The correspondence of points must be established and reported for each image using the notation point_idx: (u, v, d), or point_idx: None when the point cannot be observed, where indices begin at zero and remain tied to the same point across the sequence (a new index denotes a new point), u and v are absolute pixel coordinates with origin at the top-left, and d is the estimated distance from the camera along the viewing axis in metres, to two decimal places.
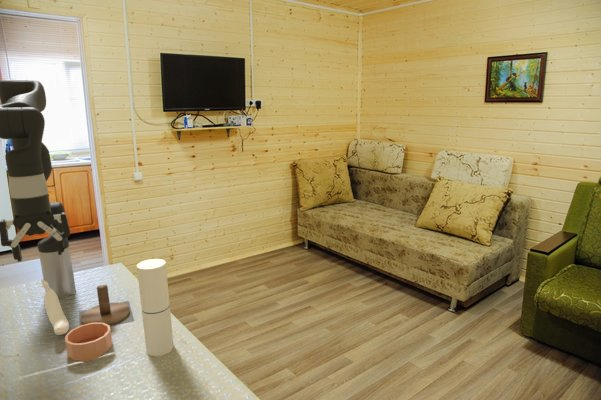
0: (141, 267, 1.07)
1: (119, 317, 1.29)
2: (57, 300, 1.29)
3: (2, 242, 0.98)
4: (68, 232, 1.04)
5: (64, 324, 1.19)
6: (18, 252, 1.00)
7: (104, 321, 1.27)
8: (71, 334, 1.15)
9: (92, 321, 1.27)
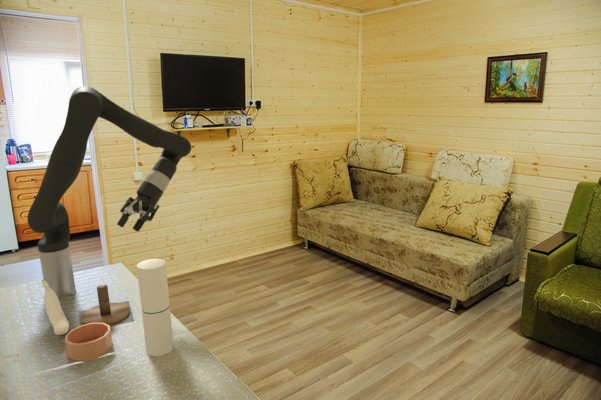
0: (141, 267, 1.07)
1: (119, 317, 1.29)
2: (57, 300, 1.29)
3: None
4: None
5: (64, 324, 1.19)
6: None
7: (104, 321, 1.27)
8: (71, 334, 1.15)
9: (92, 321, 1.27)
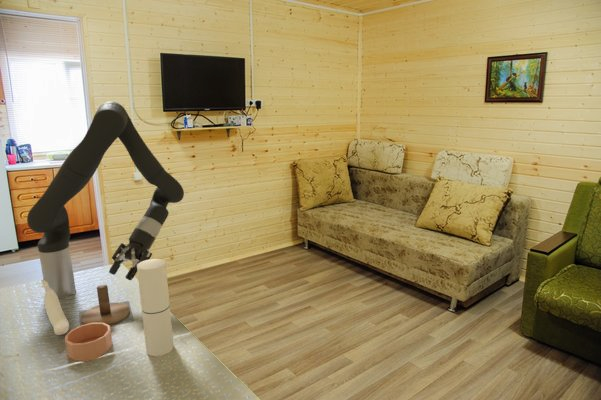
0: (141, 267, 1.07)
1: (119, 317, 1.29)
2: (57, 300, 1.29)
3: None
4: None
5: (64, 324, 1.19)
6: None
7: (104, 321, 1.27)
8: (71, 334, 1.15)
9: (92, 321, 1.27)
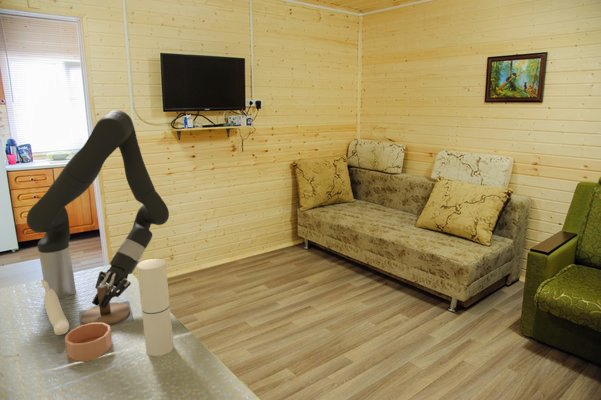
0: (141, 267, 1.07)
1: (119, 317, 1.29)
2: (57, 300, 1.29)
3: None
4: None
5: (64, 324, 1.19)
6: None
7: (104, 321, 1.27)
8: (71, 334, 1.15)
9: (92, 321, 1.27)
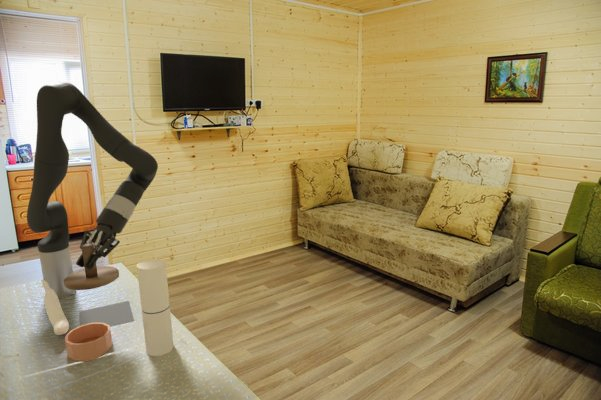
0: (141, 267, 1.07)
1: (107, 279, 1.15)
2: (57, 300, 1.29)
3: None
4: None
5: (64, 324, 1.19)
6: None
7: (90, 283, 1.13)
8: (71, 334, 1.15)
9: (76, 283, 1.13)
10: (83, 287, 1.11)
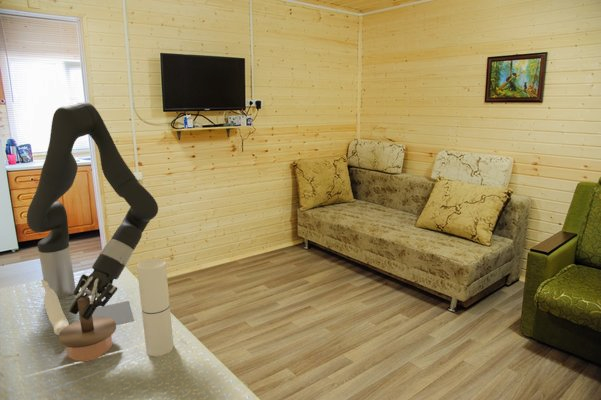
0: (141, 267, 1.07)
1: (103, 335, 1.11)
2: (57, 300, 1.29)
3: None
4: None
5: (64, 324, 1.19)
6: None
7: (85, 340, 1.09)
8: None
9: (71, 339, 1.09)
10: (78, 345, 1.07)
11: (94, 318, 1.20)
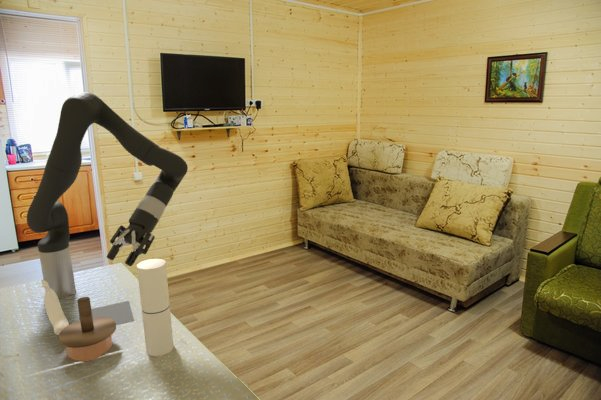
0: (141, 267, 1.07)
1: (103, 335, 1.11)
2: (57, 300, 1.29)
3: None
4: None
5: (64, 324, 1.19)
6: None
7: (85, 340, 1.09)
8: None
9: (71, 339, 1.09)
10: (78, 345, 1.07)
11: (94, 318, 1.20)
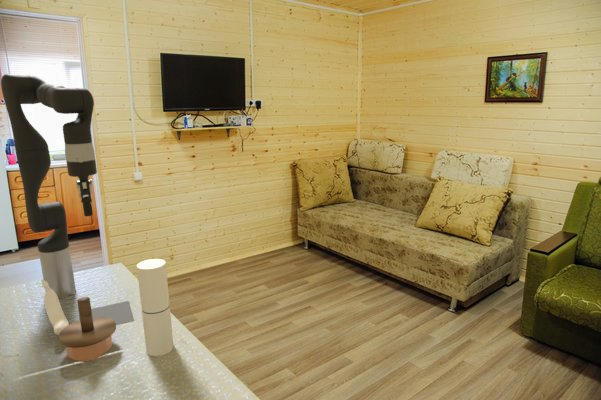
0: (141, 267, 1.07)
1: (103, 335, 1.11)
2: (57, 300, 1.29)
3: None
4: None
5: (64, 324, 1.19)
6: None
7: (85, 340, 1.09)
8: None
9: (71, 339, 1.09)
10: (78, 345, 1.07)
11: (94, 318, 1.20)
